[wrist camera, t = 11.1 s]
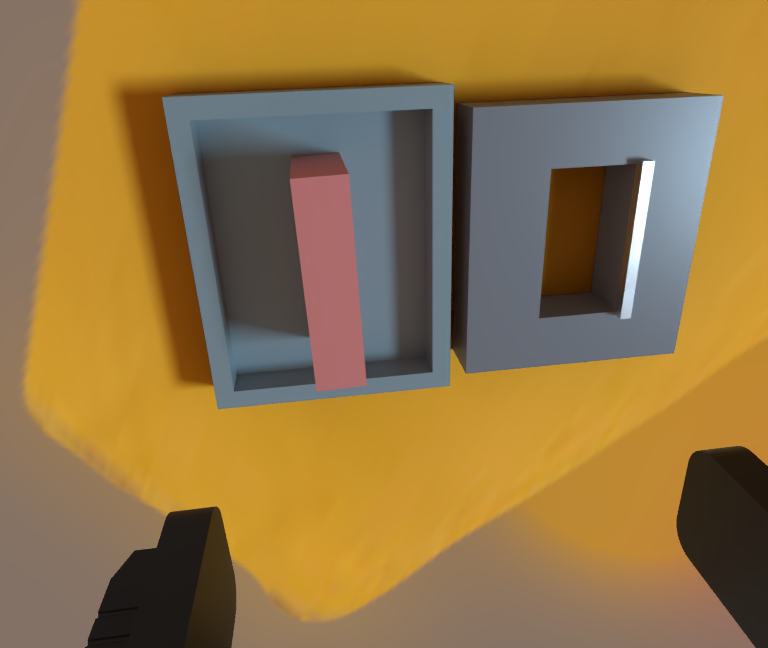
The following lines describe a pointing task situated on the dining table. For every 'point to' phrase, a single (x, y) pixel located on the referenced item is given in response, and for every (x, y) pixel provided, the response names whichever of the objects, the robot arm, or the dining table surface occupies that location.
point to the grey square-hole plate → (615, 234)
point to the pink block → (328, 269)
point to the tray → (279, 238)
